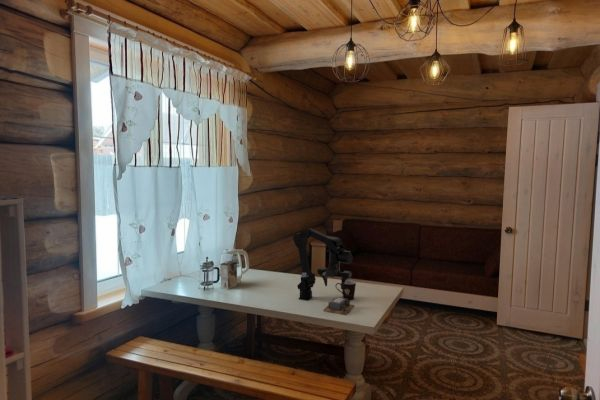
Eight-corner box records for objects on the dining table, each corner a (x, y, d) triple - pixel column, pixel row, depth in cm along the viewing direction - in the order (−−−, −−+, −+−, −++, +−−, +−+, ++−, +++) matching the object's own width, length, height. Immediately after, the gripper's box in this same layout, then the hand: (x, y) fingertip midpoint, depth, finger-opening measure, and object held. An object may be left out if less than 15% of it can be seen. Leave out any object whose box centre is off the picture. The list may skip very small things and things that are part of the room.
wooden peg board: (323, 311, 222) (323, 304, 222) (332, 303, 235) (332, 296, 234) (346, 315, 217) (346, 308, 216) (354, 306, 229) (354, 299, 229)
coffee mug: (358, 298, 243) (358, 282, 242) (349, 302, 237) (349, 285, 236) (343, 293, 251) (343, 278, 250) (334, 297, 245) (334, 281, 244)
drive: (329, 309, 223) (329, 301, 222) (337, 303, 231) (338, 296, 231) (339, 311, 220) (339, 303, 219) (347, 305, 228) (347, 298, 228)
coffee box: (230, 284, 270) (229, 260, 269) (237, 285, 267) (237, 261, 265) (220, 287, 262) (220, 263, 261) (228, 289, 259) (227, 264, 257)
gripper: (313, 261, 224) (312, 289, 225) (345, 266, 216) (344, 294, 217) (321, 257, 234) (320, 283, 235) (352, 261, 226) (351, 288, 227)
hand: (333, 287), depth 229 cm, fingers open, 9 cm apart
